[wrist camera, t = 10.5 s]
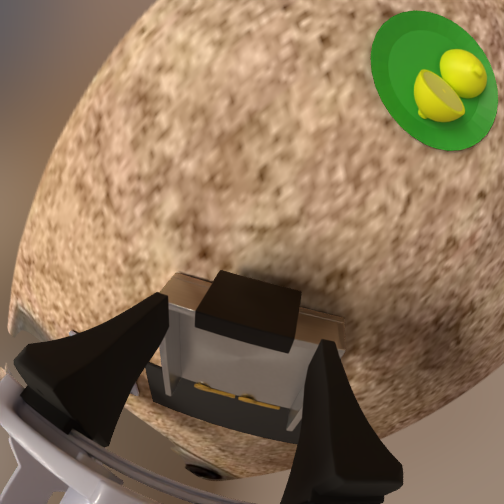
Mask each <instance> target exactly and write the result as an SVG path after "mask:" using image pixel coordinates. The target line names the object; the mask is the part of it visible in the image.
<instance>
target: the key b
mask: <svg viewBox="0 0 504 504" xmlns="http://www.w3.org/2000/svg"><path fill="white" fill-rule="evenodd" d="M238 400H240V401H244V402H247V403H251V404H256V405H260V406H264V407H268V408H272V409H277V410H279V409H280V407H279V406H274V405H270V404H266V403H262V402H258V401H255V400H252V399H248V398H244V397H238Z"/></svg>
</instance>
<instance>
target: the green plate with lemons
mask: <svg viewBox="0 0 504 504" xmlns="http://www.w3.org/2000/svg"><path fill="white" fill-rule="evenodd" d="M371 69H372V75H373V79H374V83H375V87H376V89H377V91H378V93H379V96H380V98H381V100H382V102H383V104H384V105H385V107H386V108H387V110H388V112H389V113H390V115H391V116H392V117H393V118H394V119H395V121H396V122H397V123H398V124H399V125H400V126H401V127H402V128H403V129H404V130H405V131H406V132H408V133H409V134H410V135H411V136H412V137H414V138H416V139H417V140H419V141H420V142H422V143H424V144H426V145H429V146H431V147H434V148H436V149H442V150H447V151H454V150H462V149H466V148H469V147H471V146H473V145H475V144H476V143H478V142H480V141H481V140H482V139H483V138H484V137H485V136H486V135H487V133H488V132H489V130H490V128H491V127H492V125H493V122H494V119H495V116H496V113H497V106H498V91H497V85H496V80H495V76H494V73H493V70H492V68H491V65H490V63H489V61H488V59H487V57H486V55H485V54H484V52H483V50H482V49H481V48H480V46H479V45H478V44H477V42H476V41H475V40H474V39H473V38H472V37H471V36H470V35H469V34H468V33H467V32H466V31H465V30H464V29H463V28H461V27H460V26H458V25H457V24H456V23H454V22H453V21H451V20H449V19H447V18H445V17H443V16H441V15H438V14H434V13H431V12H426V11H408V12H402V13H400V14H398V15H395V16H393V17H391V18H390V19H389V20H388V21H386V22H385V23H384V24H383V25H382V26H381V28H380V29H379V31H378V32H377V34H376V36H375V39H374V42H373V44H372V51H371Z"/></svg>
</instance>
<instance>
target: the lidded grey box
mask: <svg viewBox="0 0 504 504" xmlns="http://www.w3.org/2000/svg"><path fill="white" fill-rule="evenodd" d="M159 293H162V294H165V295H168V302H169V328H168V330H167V333H166V335H165V337H164V339H163V341H162V343H161V344H160V346H159V347H160V356H161V364H162V372H163V379H164V386H165V392H166V395H169V396H172V394H173V392H174V390H175V388H176V386H177V384H178V383H179V381H180V379H181V377H182V378H185V379H188V380H191V381H193V382H196V383H199V384H202V385H205V386H208V387H211V388H214V389H217V390H221V391H224V392H227V393H231V394H234V395H237V396H241V397H245V398H248V399H252V400H256V401H260V402H264V403H268V404H272V405H276V406H281V407H285V408H290V412H289V417H288V423H287V428H286V430H288V431H293V430H294V428H295V427H296V425H297V424H298V423H299V421H300V420H301V419H302V409H303V397H304V385H305V380H306V374H307V369H308V365H309V363H310V361H311V359H312V357H313V355H314V353H315V351H316V349H317V347H318V345H319V343H320V341H321V339H326V340H330V341H335V343H336V346H337V349H338V353H339V356H340V359H341V357H342V356H343V354H344V352H345V351H346V347H345V324H344V317H339V316H335V315H331V314H327V313H322V312H318V311H314V310H310V309H306V308H302V307H300V301H301V293H302V292H301V291H298V290H294V289H290V288H286V287H282V286H279V285H275V284H271V283H267V282H263V281H260V280H256V279H252V278H248V277H245V276H241V275H237V274H233V273H230V272H226V271H223V270H220V271H219V273H218V274H217V276H216V278H215V279H214V281H213V283H209V282H206V281H203V280H199V279H196V278H192V277H189V276H186V275H182V274H179V273H175V274H174V275H173V277H172V278H171V279H170V280H169V281H168V283H167V284H166V285H165V286H164V287H163V289H162V290H161V291H160V292H159Z"/></svg>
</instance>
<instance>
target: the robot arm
mask: <svg viewBox="0 0 504 504" xmlns="http://www.w3.org/2000/svg"><path fill="white" fill-rule="evenodd" d="M168 328H169V302H168V295H165V294H162V293H159V292H156V293H155V294H153V295H151V296H149V297H148V298H146V299H145V300H143V301H141V302H140V303H138V304H137V305H135V306H133V307H132V308H130V309H128V310H126V311H125V312H123V313H121V314H120V315H118V316H116V317H114V318H112V319H110V320H108V321H107V322H105V323H103V324H100V325H98V326H96V327H94V328H91V329H89V330H86V331H84V332H81V333H78V334H77V333H75V332H73V331H70V332H69V335H70V336H68V337H65V338H61V339H57V340H52V341H47V342H40V343H33V344H28V345H27V346H26V347H25V348H24V349H23V350H22V351H21V353H20V354H19V355H18V356H17V357H16V358H15V359H14V365H15V367H16V369H17V370H18V372H19V374H20V375H21V377H22V378H23V379H24V381H25V382H26V384H27V387H26V388H25V389H24V387H23V386H22V385H21V384H20V383H19V382H18V381H16V380H15V379H14V378H13V377H12V376H11V375H10V374H9V373H7V374H6V375H5V376H4V377H3V379H2V380H1V381H0V424H1V426H2V427H3V428H4V429H5V430H6V431H7V432H8V433H9V436H10V437H9V443H10V446H11V448H12V451H13V453H14V455H15V458H16V460H17V462H18V467H17V468H16V470H15V472H14V473H13V475H12V476H11V478H10V480H9V481H8V483H7V485H6V486H5V488H4V490H3V492H2V493H1V495H0V504H47V502H48V500H49V498H50V497H51V495H52V493H53V492H56V491H59V492H66V493H65V495H64V497H63V498H62V500H61V502H60V504H162V503H160V502H157V501H155V500H152V499H150V498H148V497H145V496H143V495H141V494H139V493H136V492H134V491H132V490H130V489H128V488H126V487H124V486H122V485H123V480H121V479H120V478H118V477H117V476H115V475H114V474H113V473H112V472H111V471H110V470H109V469H107V468H105V467H104V466H102V464H105V465H107V466H109V467H110V468H112V469H115V470H116V471H118V472H120V473H122V474H124V475H126V476H128V477H130V478H132V479H134V480H136V481H138V482H140V483H143V484H145V485H147V486H149V487H151V488H154V489H156V490H159V491H161V492H164V493H166V494H169V495H171V496H174V497H177V498H179V499H182V500H185V501H188V502H191V503H194V504H255V503H249V502H245V501H240V500H236V499H232V498H228V497H224V496H220V495H217V494H213V493H210V492H206V491H203V490H200V489H197V488H194V487H191V486H188V485H185V484H182V483H179V482H177V481H174V480H171V479H169V478H166V477H164V476H161V475H159V474H157V473H154V472H152V471H150V470H147V469H145V468H143V467H141V466H138V465H136V464H134V463H132V462H130V461H128V460H126V459H124V458H122V457H120V456H118V455H116V454H115V453H113V452H111V451H109V450H107V449H105V447H107V446H109V444H110V441H111V438H112V435H113V432H114V429H115V426H116V424H117V421H118V419H119V417H120V414H121V412H122V409H123V407H124V405H125V403H126V401H127V398H128V396H129V394H130V393H131V394H133V395H135V396H139V391H138V387H137V384H136V381H137V379H138V377H139V376H140V374H141V373H142V371H143V370H144V368H145V367H146V365H147V364H148V362H149V361H150V359H151V358H152V356H153V355H154V353H155V352H156V350H157V349H158V347H159V346H160V344H161V343H162V341H163V339H164V337H165V335H166V333H167V330H168ZM402 485H403V468H402V464H401V463H400V462H399V461H398V460H397V459H396V458H395V457H394V456H393V455H392V454H391V453H390V452H389V450H388V449H387V448H386V447H385V445H384V444H383V443H382V442H381V440H380V439H379V437H378V436H377V434H376V433H375V432H374V430H373V429H372V427H371V426H370V424H369V422H368V421H367V419H366V417H365V416H364V414H363V412H362V410H361V408H360V406H359V404H358V402H357V400H356V398H355V396H354V393H353V391H352V389H351V386H350V384H349V381H348V379H347V376H346V373H345V371H344V368H343V365H342V362H341V359H340V356H339V353H338V349H337V346H336V343H335V341H330V340H326V339H321V341H320V343H319V345H318V347H317V349H316V351H315V353H314V355H313V357H312V359H311V361H310V363H309V365H308V369H307V374H306V380H305V385H304V397H303V409H302V421H301V430H300V436H299V440H298V445H297V449H296V453H295V457H294V461H293V465H292V469H291V472H290V476H289V479H288V482H287V485H286V488H285V491H284V494H283V497H282V500H281V502H280V504H380V503H383V502H384V495H387V494H389V493H391V492H393V491H396V490H398V489H399V488H400V487H401V486H402Z"/></svg>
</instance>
